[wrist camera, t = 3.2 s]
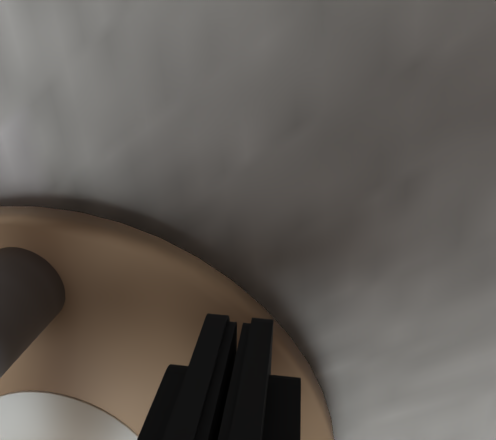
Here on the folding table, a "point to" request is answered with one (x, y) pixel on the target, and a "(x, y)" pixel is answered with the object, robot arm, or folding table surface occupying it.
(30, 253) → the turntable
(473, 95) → the folding table surface
